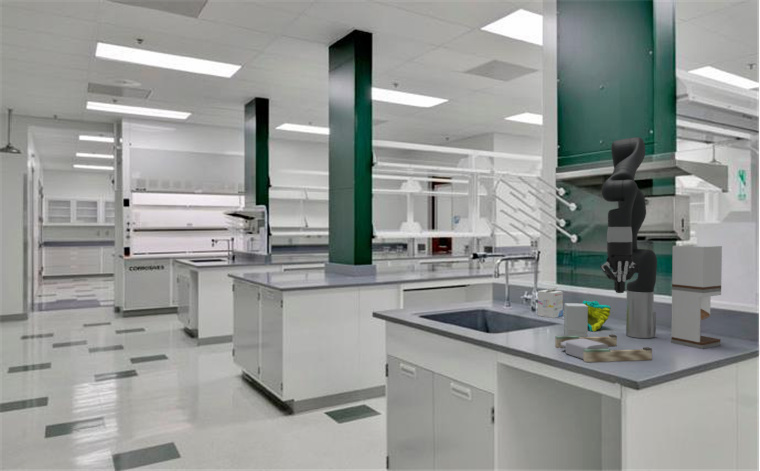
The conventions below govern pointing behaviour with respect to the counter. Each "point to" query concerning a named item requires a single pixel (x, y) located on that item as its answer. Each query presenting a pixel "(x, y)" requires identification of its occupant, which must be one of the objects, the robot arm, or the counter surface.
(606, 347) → the charger
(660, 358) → the counter surface
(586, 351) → the railed run
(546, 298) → the ink box
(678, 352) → the counter surface
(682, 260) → the coffee maker
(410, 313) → the counter surface
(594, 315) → the organ model
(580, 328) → the supplement box
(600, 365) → the counter surface
